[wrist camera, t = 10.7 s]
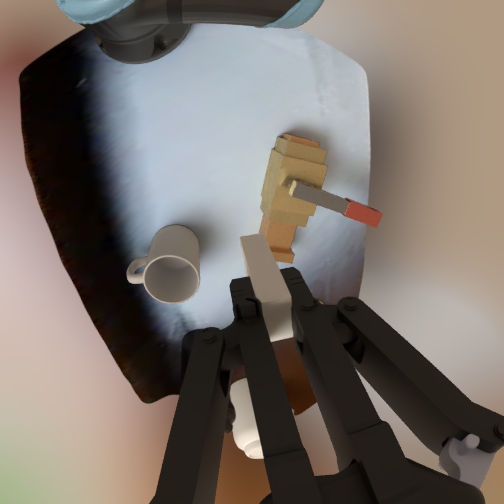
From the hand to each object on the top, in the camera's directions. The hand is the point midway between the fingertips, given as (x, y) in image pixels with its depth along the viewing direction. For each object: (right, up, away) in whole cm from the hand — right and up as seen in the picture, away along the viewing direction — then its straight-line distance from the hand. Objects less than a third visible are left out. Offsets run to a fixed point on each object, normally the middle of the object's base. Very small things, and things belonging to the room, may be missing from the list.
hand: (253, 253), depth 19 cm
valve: (+5, +10, +30) cm, 32 cm away
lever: (+12, +8, +24) cm, 28 cm away
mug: (-15, +1, +31) cm, 35 cm away
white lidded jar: (-1, -36, +53) cm, 65 cm away
